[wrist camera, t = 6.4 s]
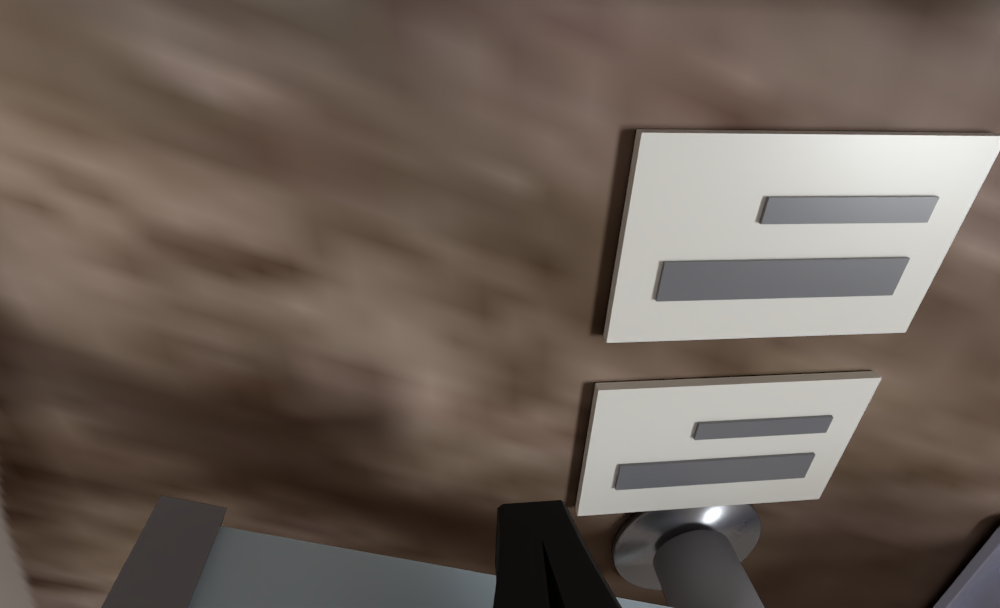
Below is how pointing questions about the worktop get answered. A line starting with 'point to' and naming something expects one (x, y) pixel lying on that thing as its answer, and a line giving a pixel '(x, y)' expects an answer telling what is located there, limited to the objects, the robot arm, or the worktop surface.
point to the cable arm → (362, 571)
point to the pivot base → (658, 527)
